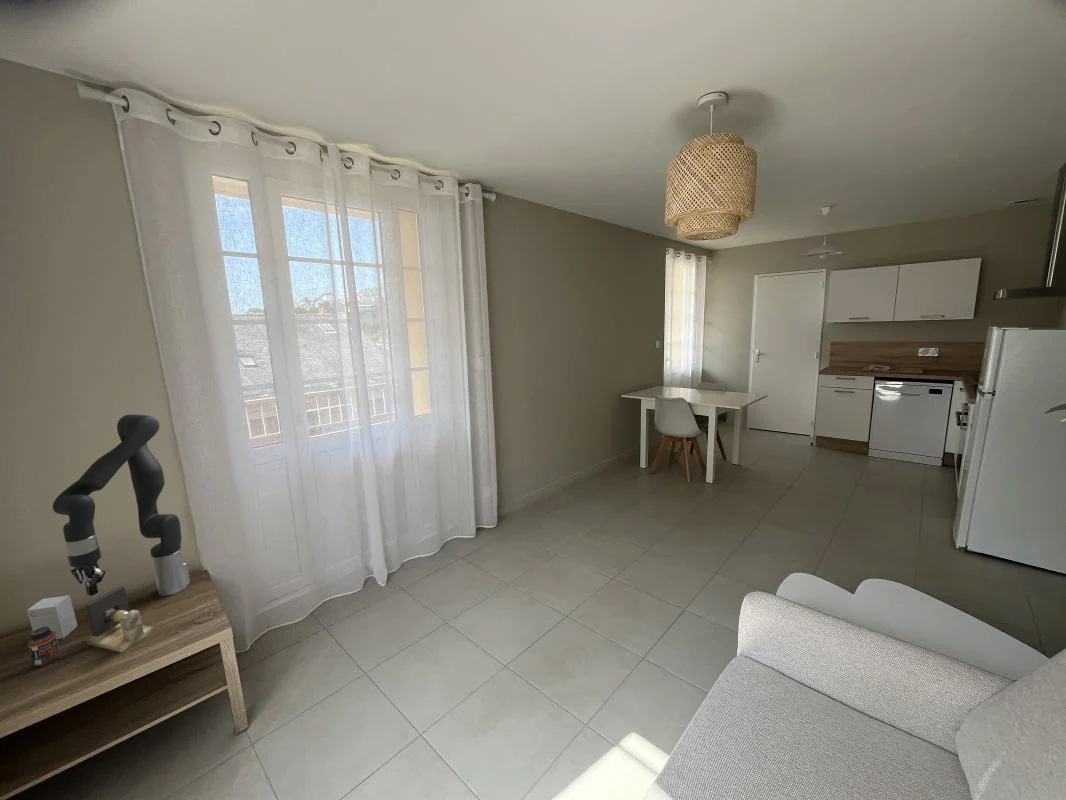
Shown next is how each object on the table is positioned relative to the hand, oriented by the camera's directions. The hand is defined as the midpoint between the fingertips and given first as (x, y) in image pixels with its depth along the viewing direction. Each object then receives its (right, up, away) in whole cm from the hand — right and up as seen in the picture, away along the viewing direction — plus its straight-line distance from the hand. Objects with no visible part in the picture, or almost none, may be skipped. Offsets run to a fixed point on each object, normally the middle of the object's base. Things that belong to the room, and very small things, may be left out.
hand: (92, 594), depth 145 cm
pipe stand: (+9, -16, +1) cm, 18 cm away
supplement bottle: (-6, -18, -9) cm, 21 cm away
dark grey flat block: (+6, -12, +1) cm, 13 cm away
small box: (-16, -16, +3) cm, 22 cm away
